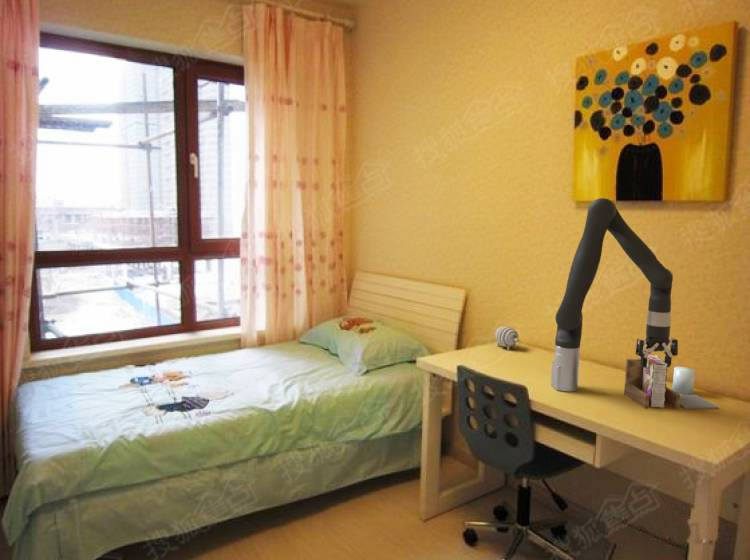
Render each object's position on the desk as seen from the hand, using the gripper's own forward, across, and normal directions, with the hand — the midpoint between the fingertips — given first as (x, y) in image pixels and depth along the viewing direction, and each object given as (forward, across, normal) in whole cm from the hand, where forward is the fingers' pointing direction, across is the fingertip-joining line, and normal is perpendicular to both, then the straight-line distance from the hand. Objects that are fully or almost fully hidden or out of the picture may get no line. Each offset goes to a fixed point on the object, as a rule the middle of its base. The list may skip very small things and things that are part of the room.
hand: (655, 367), depth 187 cm
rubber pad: (+14, +14, -1) cm, 19 cm away
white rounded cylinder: (+14, +18, +10) cm, 25 cm away
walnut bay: (+13, 0, +1) cm, 13 cm away
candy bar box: (+14, 0, 0) cm, 14 cm away
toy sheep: (+13, -33, +74) cm, 82 cm away
